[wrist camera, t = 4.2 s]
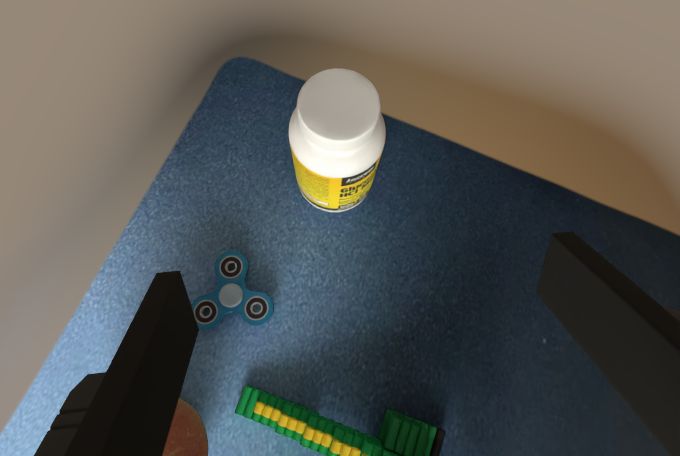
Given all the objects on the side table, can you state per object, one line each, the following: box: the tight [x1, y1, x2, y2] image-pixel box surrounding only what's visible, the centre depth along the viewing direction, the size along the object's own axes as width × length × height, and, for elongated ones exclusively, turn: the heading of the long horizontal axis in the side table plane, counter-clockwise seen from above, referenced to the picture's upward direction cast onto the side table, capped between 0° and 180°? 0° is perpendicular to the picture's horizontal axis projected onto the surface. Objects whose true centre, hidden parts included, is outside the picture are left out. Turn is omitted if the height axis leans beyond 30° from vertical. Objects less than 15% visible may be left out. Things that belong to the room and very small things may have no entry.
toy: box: [191, 251, 274, 329], centre depth 29 cm, size 6×6×1 cm
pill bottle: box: [289, 68, 386, 212], centre depth 27 cm, size 6×6×11 cm
